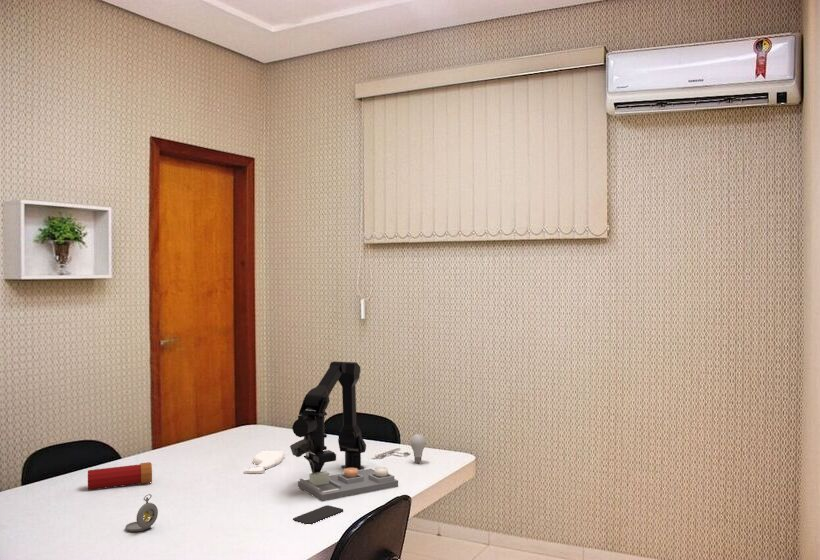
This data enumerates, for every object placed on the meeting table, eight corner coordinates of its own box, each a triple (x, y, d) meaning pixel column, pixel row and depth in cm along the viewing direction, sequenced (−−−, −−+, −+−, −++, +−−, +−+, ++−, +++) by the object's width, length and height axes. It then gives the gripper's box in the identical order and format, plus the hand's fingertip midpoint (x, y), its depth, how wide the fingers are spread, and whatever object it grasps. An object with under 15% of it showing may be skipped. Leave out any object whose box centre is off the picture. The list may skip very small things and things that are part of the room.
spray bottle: (287, 458, 266) (269, 476, 242) (260, 457, 267) (239, 475, 242) (287, 450, 266) (269, 468, 242) (260, 450, 267) (239, 467, 242)
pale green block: (309, 484, 221) (309, 473, 221) (325, 481, 225) (325, 470, 225) (312, 486, 219) (312, 475, 220) (329, 483, 223) (329, 472, 223)
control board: (298, 487, 226) (298, 476, 226) (370, 474, 242) (370, 464, 242) (322, 501, 211) (322, 490, 211) (398, 486, 227) (398, 476, 227)
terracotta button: (341, 474, 228) (341, 468, 228) (353, 472, 230) (353, 466, 230) (348, 478, 224) (348, 472, 224) (360, 475, 226) (360, 469, 226)
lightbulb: (424, 465, 254) (424, 436, 254) (408, 464, 255) (408, 435, 255) (427, 461, 260) (427, 433, 260) (411, 460, 261) (411, 432, 261)
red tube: (152, 485, 228) (152, 465, 228) (87, 492, 220) (87, 470, 220) (151, 480, 235) (151, 460, 235) (87, 486, 226) (88, 465, 227)
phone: (290, 518, 194) (327, 504, 206) (291, 521, 194) (327, 507, 206) (309, 524, 190) (345, 509, 202) (309, 527, 190) (345, 512, 202)
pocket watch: (130, 524, 190) (130, 489, 190) (160, 524, 191) (160, 488, 191) (120, 535, 182) (120, 498, 182) (152, 534, 183) (152, 497, 183)
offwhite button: (372, 474, 229) (372, 468, 229) (383, 472, 231) (383, 466, 231) (379, 477, 225) (379, 471, 225) (390, 475, 227) (390, 469, 227)
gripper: (282, 428, 228) (281, 475, 228) (305, 439, 212) (305, 488, 212) (312, 425, 234) (311, 470, 234) (337, 435, 218) (336, 483, 218)
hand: (315, 477), depth 224 cm, fingers closed
